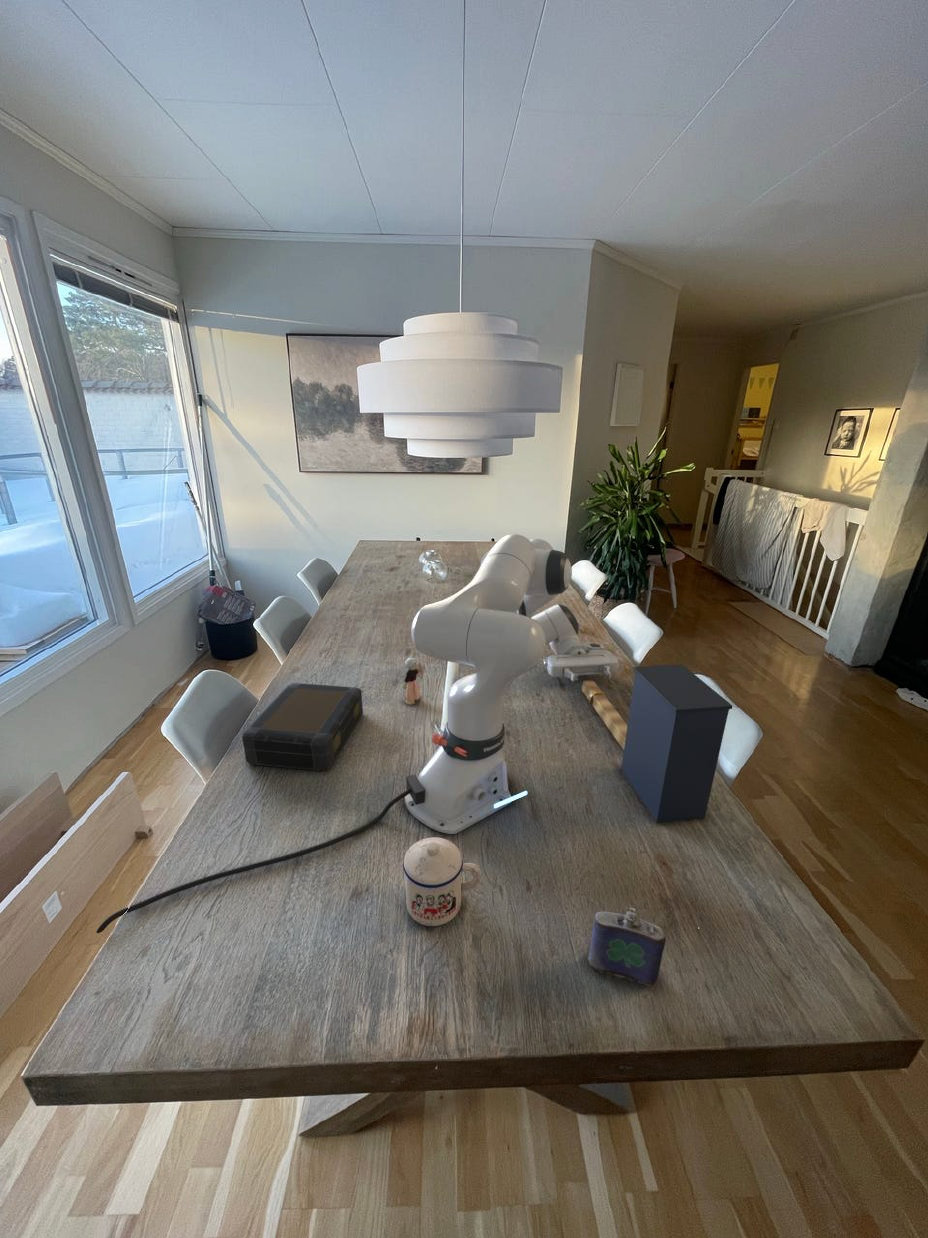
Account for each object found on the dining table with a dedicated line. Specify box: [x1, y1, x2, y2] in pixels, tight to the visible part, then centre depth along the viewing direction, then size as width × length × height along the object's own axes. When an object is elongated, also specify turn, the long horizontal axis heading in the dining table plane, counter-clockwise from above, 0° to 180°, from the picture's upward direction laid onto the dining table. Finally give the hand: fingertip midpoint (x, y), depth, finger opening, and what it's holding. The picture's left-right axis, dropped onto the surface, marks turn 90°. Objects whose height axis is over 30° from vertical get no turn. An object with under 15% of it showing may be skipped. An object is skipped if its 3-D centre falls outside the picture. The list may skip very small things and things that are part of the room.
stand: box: [620, 663, 733, 823], centre depth 101 cm, size 17×11×25 cm, turn 8°
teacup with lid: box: [402, 836, 482, 927], centre depth 79 cm, size 12×9×12 cm
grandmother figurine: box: [402, 657, 421, 706], centre depth 138 cm, size 8×4×13 cm, turn 168°
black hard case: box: [241, 682, 364, 772], centre depth 122 cm, size 25×20×8 cm
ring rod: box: [581, 679, 628, 751], centre depth 130 cm, size 29×4×4 cm, turn 9°
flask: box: [587, 906, 667, 987], centre depth 70 cm, size 9×3×11 cm, turn 72°
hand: (592, 677), depth 141 cm, fingers open, 8 cm apart
